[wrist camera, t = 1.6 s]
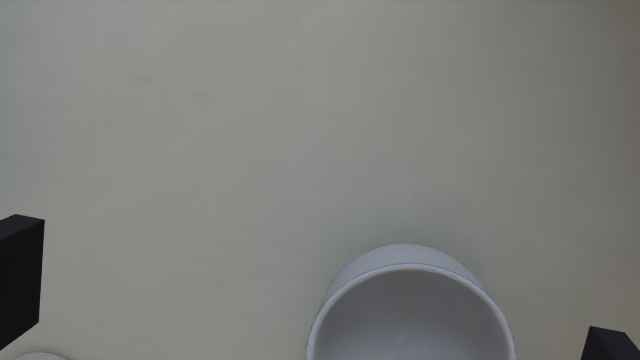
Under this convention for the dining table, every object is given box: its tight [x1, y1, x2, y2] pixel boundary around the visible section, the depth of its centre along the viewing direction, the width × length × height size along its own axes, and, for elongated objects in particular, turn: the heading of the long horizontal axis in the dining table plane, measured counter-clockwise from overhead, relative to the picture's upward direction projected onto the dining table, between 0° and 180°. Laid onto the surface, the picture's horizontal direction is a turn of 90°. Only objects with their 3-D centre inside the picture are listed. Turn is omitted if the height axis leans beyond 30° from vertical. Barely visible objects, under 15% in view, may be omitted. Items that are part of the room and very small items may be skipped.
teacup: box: [306, 244, 516, 360], centre depth 35 cm, size 14×11×8 cm
